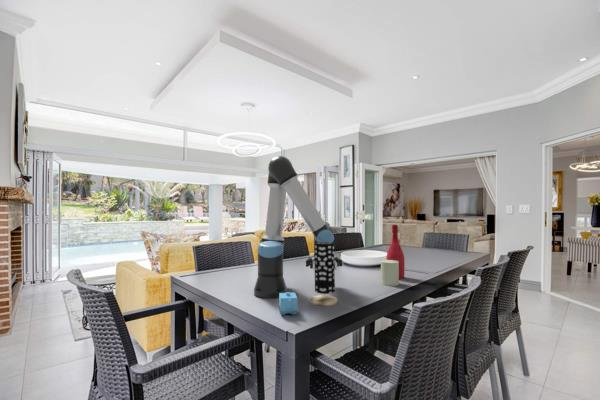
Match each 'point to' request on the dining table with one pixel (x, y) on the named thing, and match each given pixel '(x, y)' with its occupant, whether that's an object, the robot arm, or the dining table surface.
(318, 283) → the white-spotted black cylinder
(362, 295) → the dining table surface
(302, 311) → the dining table surface
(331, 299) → the birch coaster
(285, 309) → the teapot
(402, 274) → the wine bottle
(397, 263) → the can
